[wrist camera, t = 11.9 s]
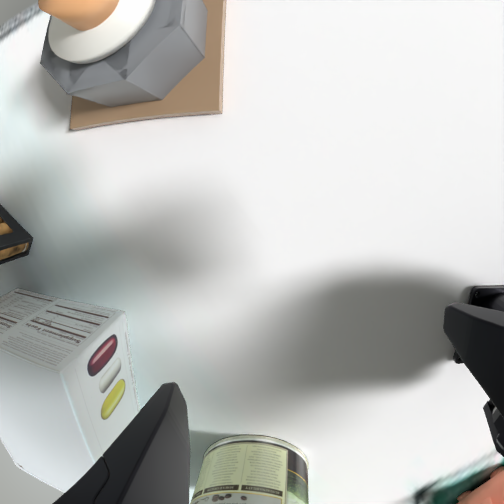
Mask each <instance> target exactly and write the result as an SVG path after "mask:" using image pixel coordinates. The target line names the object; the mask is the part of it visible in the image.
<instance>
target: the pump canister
mask: <svg viewBox="0 0 504 504" xmlns="http://www.w3.org/2000/svg"><path fill="white" fill-rule="evenodd" d="M225 16H226V0H156V2H155V5H154V8H153V11H152V13H151V15H150V16H149V18H148V20H147V21H146V23H145V24H144V26H143V27H142V28H141V30H140V31H139V32H138V33H137V34H136V35H135V36H134V37H133V38H132V39H131V40H130V41H129V42H128V43H127V44H125V45H124V46H123V47H122V48H120V49H119V50H118V51H116V52H115V53H113V54H111V55H109V56H108V57H106V58H103V59H101V60H99V61H96V62H92V63H87V64H76V63H72V62H69V61H67V60H65V59H62V58H60V57H58V56H57V55H56V54H55V53H54V52H53V51H52V49H51V47H50V44H49V38H48V33H49V26H50V22H51V19H52V15H51V16H50V20H49V24H48V28H47V32H46V37H45V41H44V46H43V51H42V56H41V62H40V64H42V66H43V67H44V68H45V69H46V70H47V71H48V72H49V73H50V75H51V76H52V77H53V78H54V79H55V80H56V81H57V83H58V84H59V85H60V86H61V87H62V88H63V89H64V90H65V91H66V93H67V94H70V95H72V105H71V120H70V129H73V130H82V129H87V128H93V127H98V126H104V125H111V124H117V123H124V122H131V121H139V120H147V119H156V118H166V117H177V116H190V115H205V114H222V102H223V66H224V39H225Z"/></svg>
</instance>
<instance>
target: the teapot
mask: <svg viewBox="0 0 504 504" xmlns="http://www.w3.org/2000/svg"><path fill="white" fill-rule="evenodd" d="M490 478H491V479H490V480H488V481H487V482H485V483H484V484H482V485H481V486H479V487H478V488H477V489H475V490H474V491H466V492H464V493H462V494H461V495H460V496H458V498H457V500H458V501H459V502H458V503H457V504H504V467H503V466H501V467H499V468H497V469H496V470H495V471H494V472H493V473H492V474H491V475H490Z"/></svg>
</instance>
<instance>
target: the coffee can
mask: <svg viewBox="0 0 504 504" xmlns="http://www.w3.org/2000/svg"><path fill="white" fill-rule="evenodd" d="M190 504H308V461H307V459H306V457H305V455H304V454H303V453H302V452H301V451H300V450H299V449H298V448H296V447H295V446H293V445H291V444H289V443H287V442H285V441H283V440H279V439H276V438H272V437H266V436H258V435H240V436H234V437H229V438H225V439H222V440H220V441H218V442H216V443H214V444H213V445H212V446H210V447H209V448H208V449H207V451H206V452H205V454H204V457H203V464H202V467H201V471H200V474H199V477H198V481H197V484H196V487H195V490H194V494H193V497H192V500H191V503H190Z"/></svg>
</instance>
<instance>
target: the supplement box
mask: <svg viewBox="0 0 504 504" xmlns="http://www.w3.org/2000/svg"><path fill="white" fill-rule="evenodd" d="M139 411H140V406H139V400H138V395H137V389H136V383H135V377H134V370H133V364H132V357H131V349H130V341H129V333H128V326H127V317H126V313H125V311H121V310H116V309H111V308H106V307H100V306H95V305H90V304H85V303H80V302H75V301H70V300H65V299H61V298H56V297H52V296H47V295H43V294H39V293H34V292H30V291H26V290H22V289H19V288H16V289H15V290H13V291H11V292H9V293H7V294H6V295H4V296H2V297H0V439H1V441H2V443H3V444H4V446H5V448H6V449H7V451H8V453H9V454H10V456H11V458H12V460H13V462H14V463H15V465H16V466H17V467H19V468H20V469H22V470H23V471H25V472H27V473H28V474H30V475H32V476H33V477H35V478H37V479H39V480H40V481H42V482H44V483H46V484H48V485H50V486H52V487H54V488H56V489H58V490H60V491H62V492H64V493H65V492H66V491H67V490H69V489H70V488H71V487H72V486H73V485H74V484H75V483H76V482H77V481H78V480H79V479H80V478H81V477H82V476H83V475H84V474H85V473H86V472H87V471H88V470H89V469H90V468H91V467H92V466H93V465H94V464H95V462H96V461H97V460H98V459H99V458H100V457H101V456H103V453H104V452H105V451H106V450H107V449H108V448H109V446H110V445H111V444H112V443H113V442H114V441H115V439H116V438H117V437H118V436H119V435H120V434H121V432H122V431H123V430H124V429H125V428H126V427H127V425H128V424H129V423H130V422H131V421H132V420H133V418H134V417H135V416H136V415H137V414H138V413H139Z"/></svg>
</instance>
